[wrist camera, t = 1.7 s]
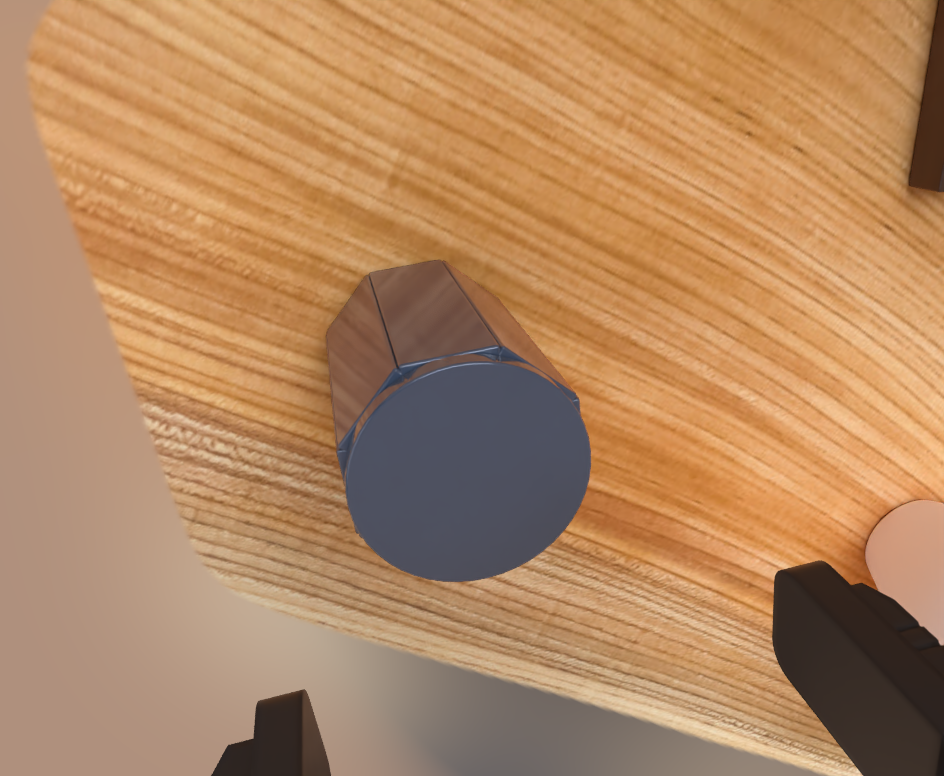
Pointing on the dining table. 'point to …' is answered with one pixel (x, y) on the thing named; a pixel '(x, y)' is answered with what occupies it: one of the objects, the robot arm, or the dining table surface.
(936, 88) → the cup stand
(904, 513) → the mug
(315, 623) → the dining table surface
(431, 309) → the cup
